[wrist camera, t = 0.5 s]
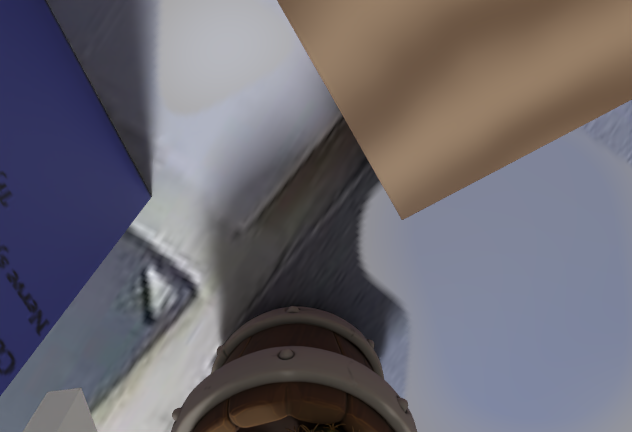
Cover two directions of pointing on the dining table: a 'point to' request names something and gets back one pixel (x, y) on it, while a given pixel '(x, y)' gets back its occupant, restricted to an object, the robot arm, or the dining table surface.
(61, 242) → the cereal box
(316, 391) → the flowerpot
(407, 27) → the walnut block
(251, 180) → the dining table surface
